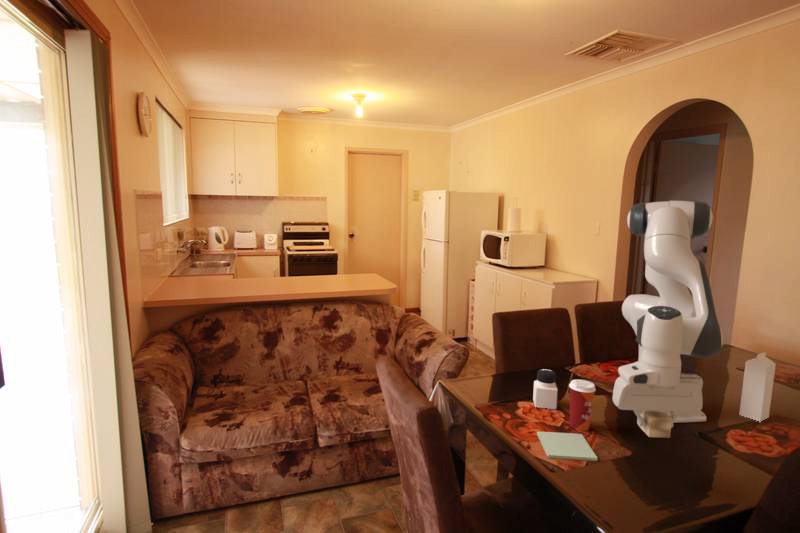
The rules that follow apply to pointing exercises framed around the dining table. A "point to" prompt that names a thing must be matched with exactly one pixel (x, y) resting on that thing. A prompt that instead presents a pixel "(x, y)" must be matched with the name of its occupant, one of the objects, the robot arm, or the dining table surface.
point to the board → (566, 446)
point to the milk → (757, 388)
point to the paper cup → (581, 403)
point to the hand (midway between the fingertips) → (654, 425)
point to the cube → (657, 424)
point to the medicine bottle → (545, 390)
